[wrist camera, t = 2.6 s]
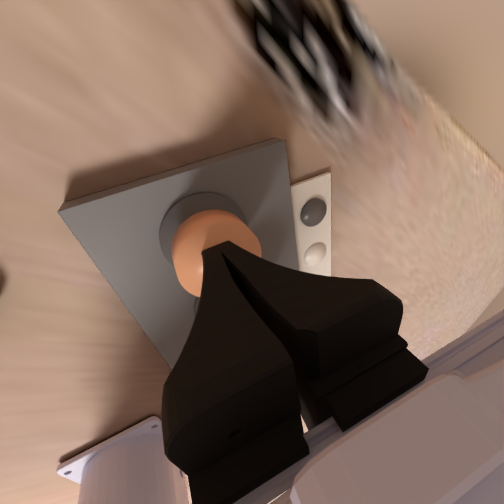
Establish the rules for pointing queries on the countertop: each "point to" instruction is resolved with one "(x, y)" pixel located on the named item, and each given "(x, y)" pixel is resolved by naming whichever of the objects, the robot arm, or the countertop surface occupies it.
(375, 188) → the countertop surface
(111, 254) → the board
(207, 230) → the button
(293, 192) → the card
